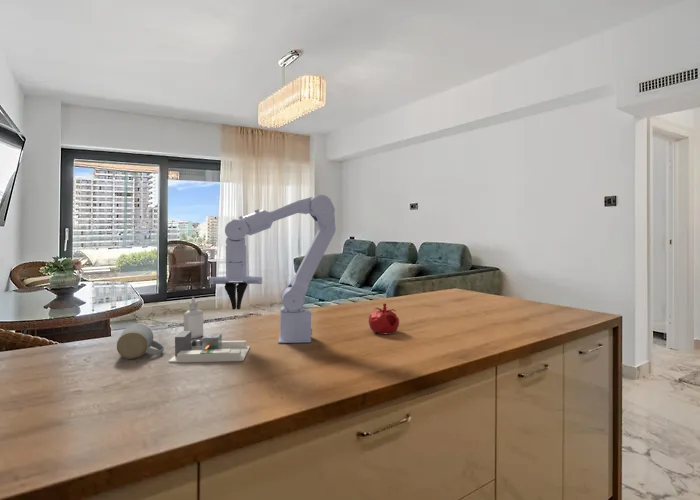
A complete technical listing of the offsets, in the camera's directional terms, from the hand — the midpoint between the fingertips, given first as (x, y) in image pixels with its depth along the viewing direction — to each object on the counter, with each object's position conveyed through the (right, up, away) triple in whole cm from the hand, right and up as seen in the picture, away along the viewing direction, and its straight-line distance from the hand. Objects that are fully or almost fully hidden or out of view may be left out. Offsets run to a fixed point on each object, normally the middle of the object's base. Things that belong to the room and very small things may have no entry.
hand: (236, 308), depth 117 cm
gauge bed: (-3, -10, -11) cm, 15 cm away
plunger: (-5, -10, -12) cm, 17 cm away
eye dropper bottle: (-15, -10, +6) cm, 19 cm away
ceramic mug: (-22, -11, -11) cm, 27 cm away
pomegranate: (+44, -10, +14) cm, 47 cm away
